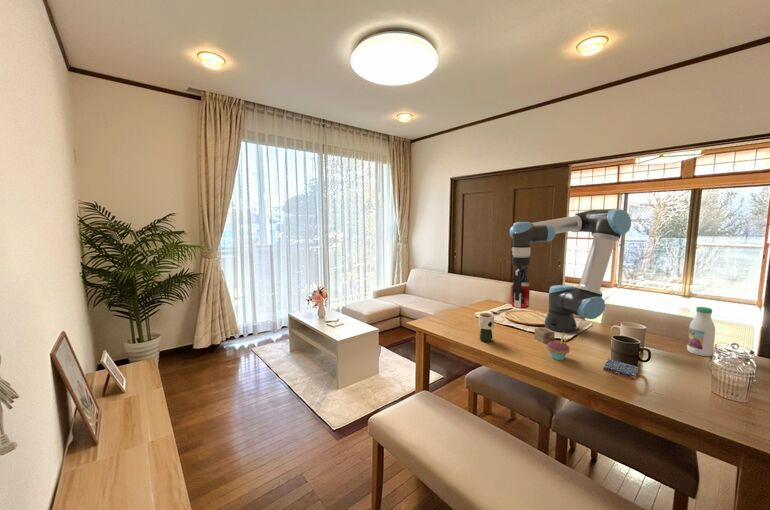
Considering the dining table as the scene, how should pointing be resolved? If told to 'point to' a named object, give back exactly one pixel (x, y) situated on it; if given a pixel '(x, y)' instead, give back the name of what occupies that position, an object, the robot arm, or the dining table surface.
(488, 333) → the character mug
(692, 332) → the milk bottle
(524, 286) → the canned food
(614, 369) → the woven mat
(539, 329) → the walnut block
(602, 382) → the dining table surface
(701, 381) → the dining table surface
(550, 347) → the cupcake
